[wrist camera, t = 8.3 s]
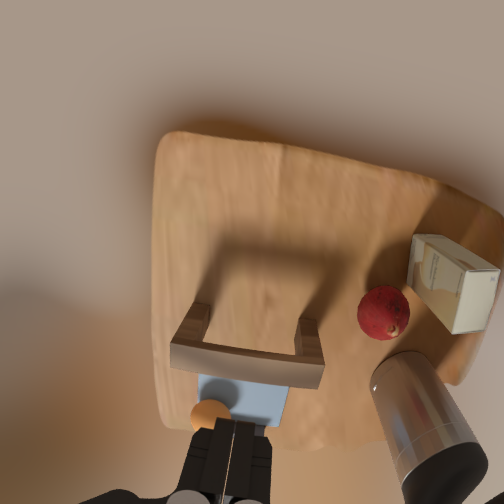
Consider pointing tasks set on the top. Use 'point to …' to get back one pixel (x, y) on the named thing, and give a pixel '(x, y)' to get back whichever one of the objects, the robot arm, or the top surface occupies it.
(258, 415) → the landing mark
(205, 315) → the bridge
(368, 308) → the onion
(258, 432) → the stopper strip
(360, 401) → the top surface
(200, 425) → the ball
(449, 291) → the skincare box
